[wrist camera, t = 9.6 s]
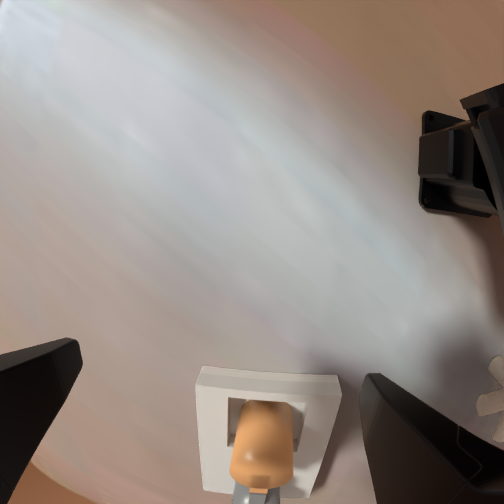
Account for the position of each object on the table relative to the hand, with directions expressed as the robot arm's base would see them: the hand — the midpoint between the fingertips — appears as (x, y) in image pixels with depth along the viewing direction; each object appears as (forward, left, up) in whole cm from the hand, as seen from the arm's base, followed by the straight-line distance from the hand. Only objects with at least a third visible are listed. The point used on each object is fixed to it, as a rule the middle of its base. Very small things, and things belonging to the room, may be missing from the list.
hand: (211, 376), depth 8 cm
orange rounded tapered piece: (-2, +11, -11) cm, 16 cm away
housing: (-2, +15, -12) cm, 19 cm away
